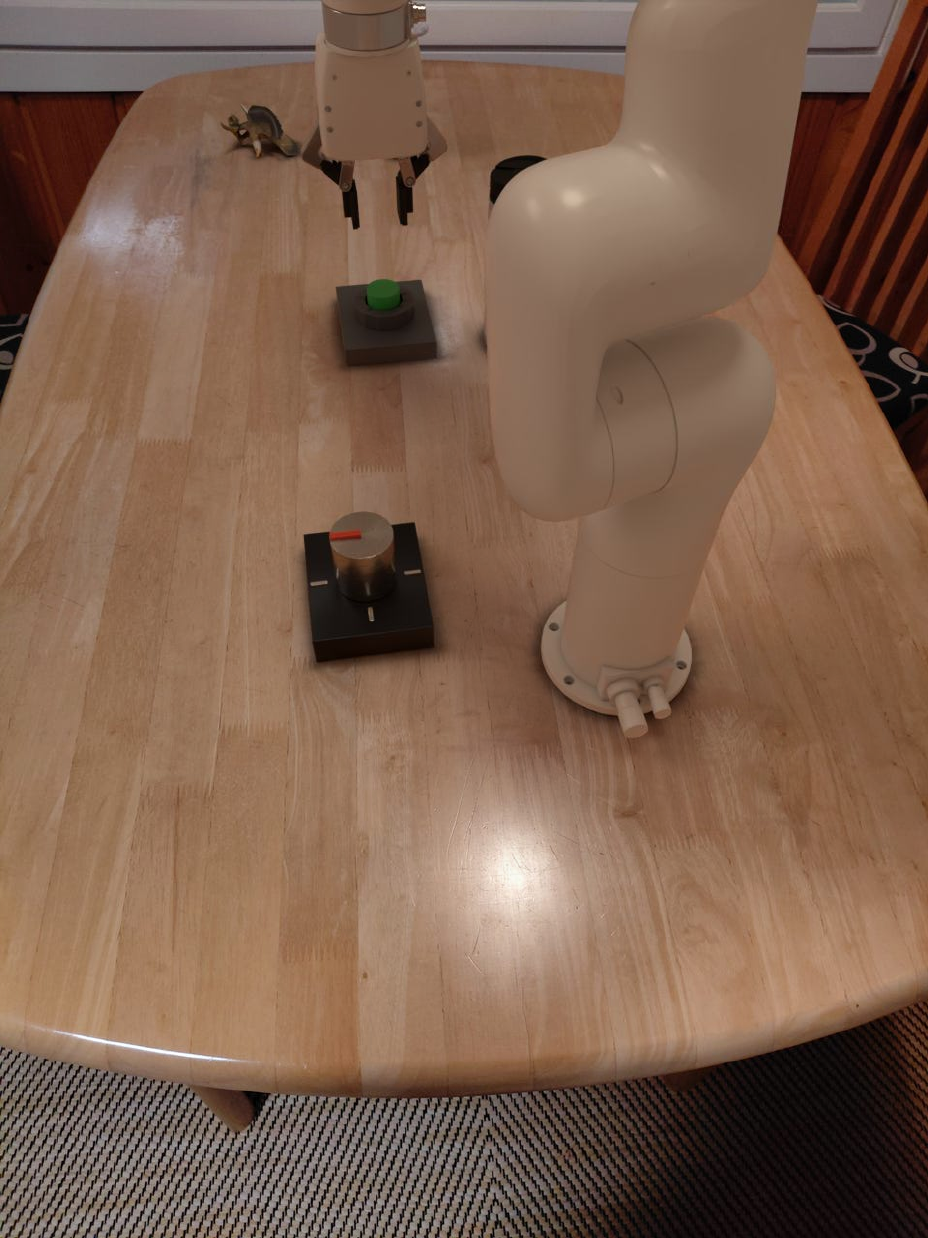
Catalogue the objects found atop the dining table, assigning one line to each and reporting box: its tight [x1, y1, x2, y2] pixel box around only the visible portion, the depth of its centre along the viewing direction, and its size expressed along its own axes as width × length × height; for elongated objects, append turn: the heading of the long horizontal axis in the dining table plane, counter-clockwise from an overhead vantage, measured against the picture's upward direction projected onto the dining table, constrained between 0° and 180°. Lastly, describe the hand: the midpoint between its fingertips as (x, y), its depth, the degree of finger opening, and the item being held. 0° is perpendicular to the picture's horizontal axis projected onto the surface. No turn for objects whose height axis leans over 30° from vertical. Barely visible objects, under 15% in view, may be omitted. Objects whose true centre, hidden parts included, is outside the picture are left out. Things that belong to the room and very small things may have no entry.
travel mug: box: [483, 154, 548, 346], centre depth 97 cm, size 6×7×20 cm
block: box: [335, 279, 438, 367], centre depth 104 cm, size 12×10×4 cm
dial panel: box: [303, 521, 435, 663], centre depth 81 cm, size 12×10×3 cm
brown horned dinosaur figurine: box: [219, 103, 300, 158], centre depth 129 cm, size 8×7×9 cm
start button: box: [367, 278, 400, 311], centre depth 103 cm, size 4×4×2 cm
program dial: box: [329, 511, 397, 602], centre depth 77 cm, size 5×5×6 cm
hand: (378, 218), depth 95 cm, fingers open, 4 cm apart
